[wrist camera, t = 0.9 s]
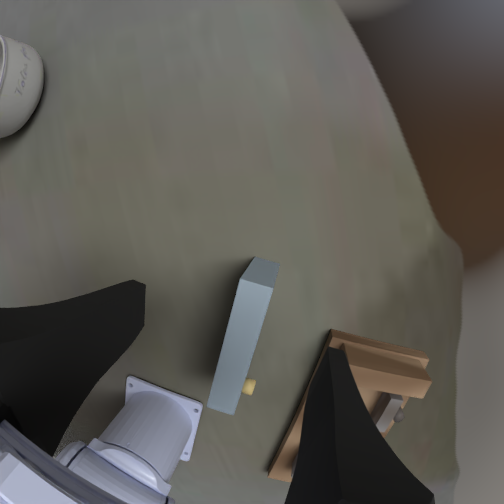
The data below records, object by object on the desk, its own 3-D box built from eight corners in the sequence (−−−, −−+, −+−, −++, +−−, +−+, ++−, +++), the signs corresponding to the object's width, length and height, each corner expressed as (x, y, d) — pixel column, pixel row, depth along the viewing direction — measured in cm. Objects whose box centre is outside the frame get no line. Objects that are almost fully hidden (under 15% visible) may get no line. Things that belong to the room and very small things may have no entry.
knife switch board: (345, 481, 29) (347, 513, 24) (269, 467, 29) (263, 501, 24) (423, 351, 25) (443, 381, 20) (331, 328, 25) (336, 358, 21)
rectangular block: (256, 372, 27) (244, 418, 21) (225, 363, 27) (206, 406, 21) (289, 266, 25) (286, 292, 19) (254, 256, 25) (240, 278, 19)
